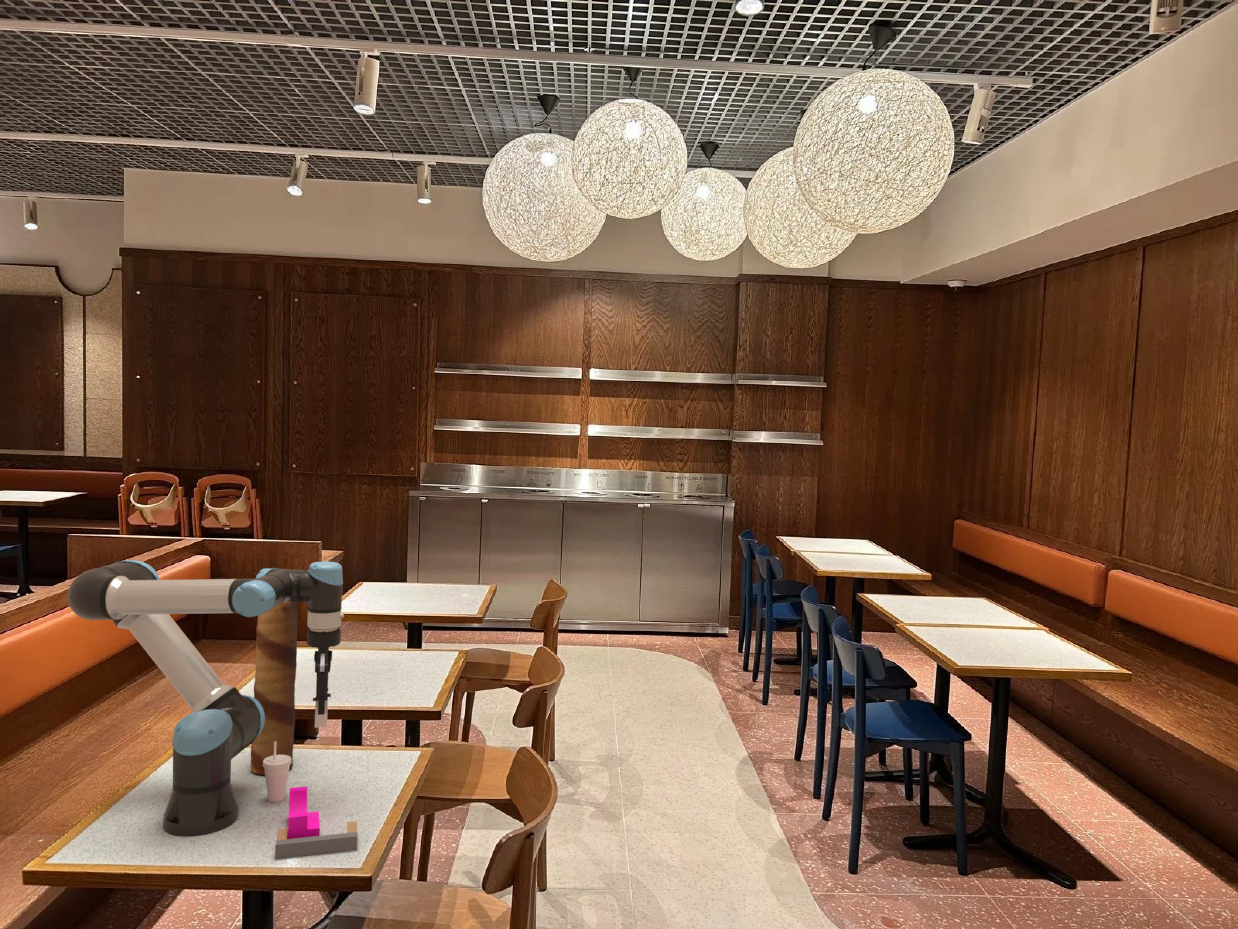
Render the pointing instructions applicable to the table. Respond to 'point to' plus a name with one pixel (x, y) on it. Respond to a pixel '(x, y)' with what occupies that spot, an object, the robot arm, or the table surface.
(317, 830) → the toy block
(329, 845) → the stop board
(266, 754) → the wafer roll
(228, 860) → the table surface
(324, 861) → the table surface
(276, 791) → the smoothie
